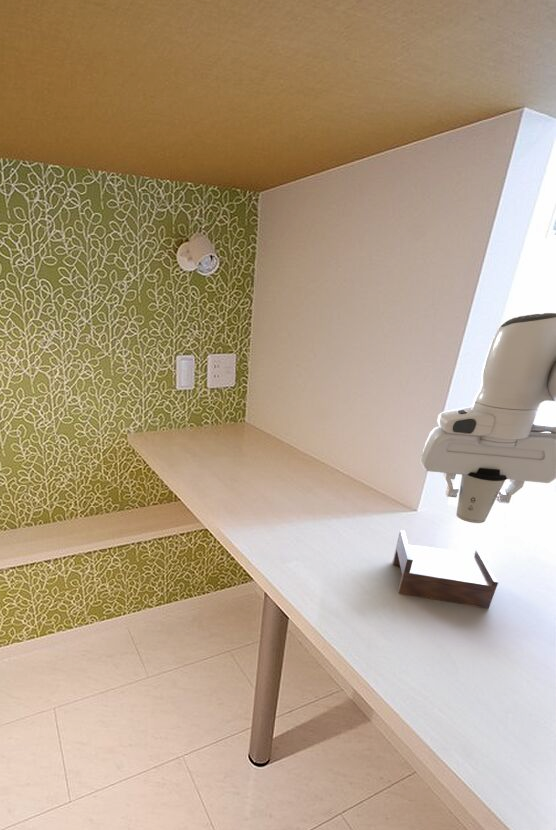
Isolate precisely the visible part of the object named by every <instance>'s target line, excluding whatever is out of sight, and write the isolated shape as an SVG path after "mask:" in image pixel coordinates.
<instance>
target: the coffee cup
mask: <svg viewBox="0 0 556 830" xmlns="http://www.w3.org/2000/svg"><path fill="white" fill-rule="evenodd" d="M506 480H508V479H507V477H506V476H505V475H500V470H498V469H488V468H479V469H478V471H477V472H476V473H474V472H470V473H469V474H468V475H461V478H460V485H459V491H458V500H457V507H456V515H455V516H456V517H457V518H458V519H460V520H462V521H464V522H467V523H471V524H482V523H485V521H486V520H487V518H488V516H489V513H490V512H491V511H492V508H493V506H494V503H495V502H496V501H497V496H498V495H499V492H500V490H502V488H503V485H504V483H505V482H506Z"/></svg>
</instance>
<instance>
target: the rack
mask: <svg viewBox="0 0 556 830" xmlns="http://www.w3.org/2000/svg"><path fill="white" fill-rule="evenodd" d="M396 541H397V542H396V546H395V550H394V554H393V558H392V565H394V566H399V567H400V570H401V576H400V580H399V584H398V588H397V592H398V594H401V595H407V596H412V597H419V598H424V599H430V600H436V601H442V602H448V603H455V604H460V605H466V606H472V607H477V608H483V609H489V608H490V606H491V604H492V601H493V598H494V595H495V593H496V590H497V587H498V585H499V581H498V580H497V579H498V578H497V577H496V576H495V573H494V572H493V571H492V569H491V567H490V564H489V563H488V561H487V560H486V558H485V556H484V554H483V552H482V551H481V549H475V552H474V553H472V552H465V551H459V550H453V549H445V548H437V547H433V546H432V547H430V546H425V545H424V546H423V545H416V544H410V543H409V540H408V536H407V534H406V530H399V533H398V538H397V540H396Z"/></svg>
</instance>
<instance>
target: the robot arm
mask: <svg viewBox="0 0 556 830" xmlns="http://www.w3.org/2000/svg"><path fill="white" fill-rule="evenodd" d="M545 401H546V402H556V313H555V312H544V313H534V314H526V315H520V316H516V317H512V318H511V319H508V320H506V321H505V322H504V323H502V324H501V325H500V326H499V328H497V330H496V331H495V334H494V336H493V338H492V341H491V342H490V345H489V349H488V351H487V354H486V357H485V360H484V364H483V366H482V371H481V383H480V388H479V389H478V392H477V393H476V395H475V396H474V399H473V403H472V405H470V406H465V407H461V408H456V409H450V410H446V411H442V412H440V413H439V414H438V417H437V424H438V426H436V427H434V428H433V429H432V430H431V431H430V433H429V434H428V437H427V440H426V441H425V444H424V447H423V450H422V453H421V457H420V464H421V466H422V467H423V469H424V470H425V471H426V472H431V473H442V474H443V478H444V480H445V483H446V485H447V486H446V489H445V496H446V497H448V498H458V494H459V492H460V488H459V487H458V485H456V484H453V482H452V480H455V479H456V475H461V476H462V475H468V474H469V473H470V472H474V473H476V472H477V471H478V469H479V468H488V469H498V470H500V475H505V476H506V477H507V479H506V480H509V482H510V484H509V485H508V486H507V487H506V488H505V489H504V490H503V489H501V490H500V492H499V494H498V496H497V498H496V501H497V502H498V503H501V504H509V503H510V501H511V498H512V496H513V495H515V494H516V493H517V492H518V491H520V490H521V489H522V488H523V487H524V484H525V482H531V483H541V484H550V483H552V482H553V481H555V480H556V425H545V424H537V423H535V419H536V416H537V413H538V411H539V407H540V405H541V404H542V403H543V402H545Z"/></svg>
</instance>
